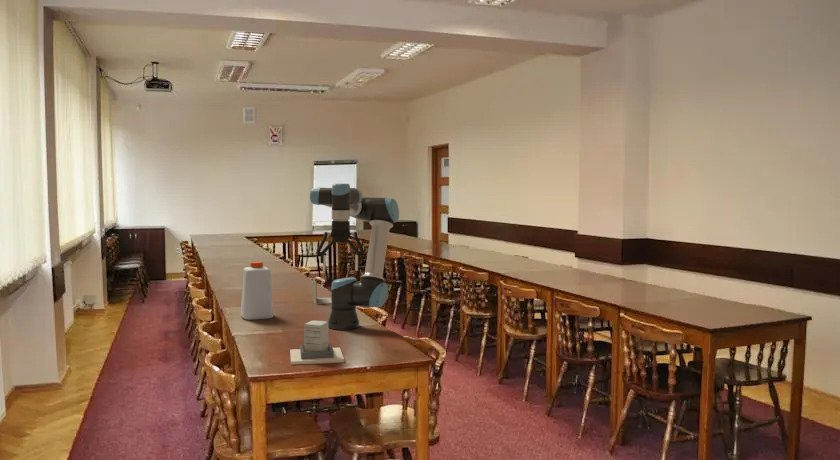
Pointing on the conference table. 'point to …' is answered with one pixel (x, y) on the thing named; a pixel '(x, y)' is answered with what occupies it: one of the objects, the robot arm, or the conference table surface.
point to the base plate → (297, 358)
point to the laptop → (319, 300)
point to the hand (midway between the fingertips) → (340, 270)
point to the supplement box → (316, 336)
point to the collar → (317, 353)
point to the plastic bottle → (256, 292)
